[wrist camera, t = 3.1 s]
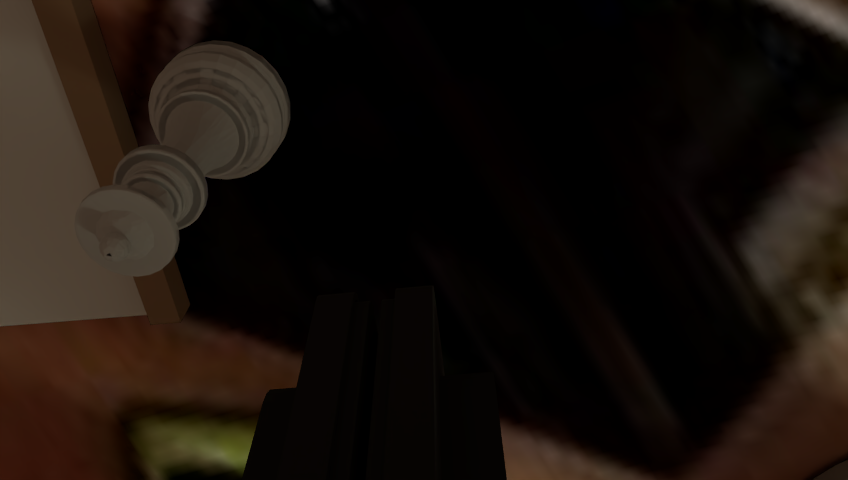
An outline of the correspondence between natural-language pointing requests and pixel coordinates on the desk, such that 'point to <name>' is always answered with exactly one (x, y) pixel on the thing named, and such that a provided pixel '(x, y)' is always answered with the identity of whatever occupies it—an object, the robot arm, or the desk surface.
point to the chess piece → (185, 154)
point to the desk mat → (63, 170)
